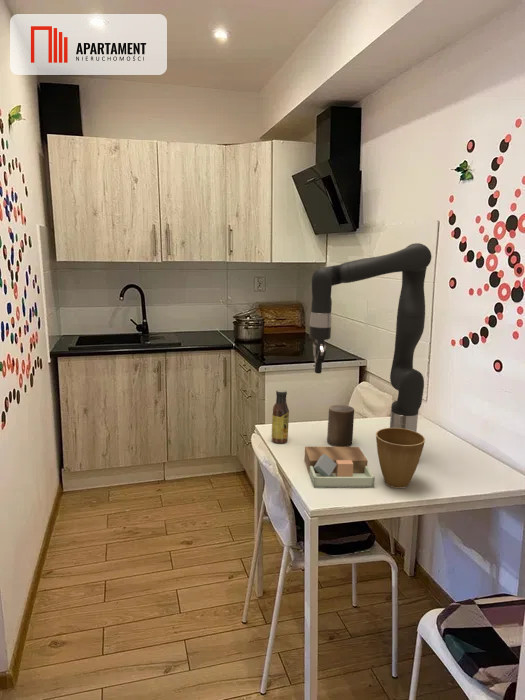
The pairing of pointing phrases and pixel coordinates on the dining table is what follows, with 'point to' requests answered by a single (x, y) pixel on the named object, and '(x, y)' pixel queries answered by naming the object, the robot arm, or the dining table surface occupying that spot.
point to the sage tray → (343, 480)
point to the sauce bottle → (280, 418)
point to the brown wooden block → (336, 456)
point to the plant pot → (399, 454)
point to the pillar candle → (340, 425)
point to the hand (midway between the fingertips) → (317, 372)
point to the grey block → (325, 465)
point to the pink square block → (344, 468)
